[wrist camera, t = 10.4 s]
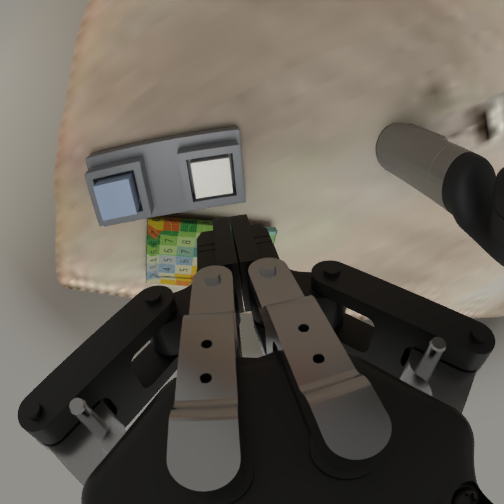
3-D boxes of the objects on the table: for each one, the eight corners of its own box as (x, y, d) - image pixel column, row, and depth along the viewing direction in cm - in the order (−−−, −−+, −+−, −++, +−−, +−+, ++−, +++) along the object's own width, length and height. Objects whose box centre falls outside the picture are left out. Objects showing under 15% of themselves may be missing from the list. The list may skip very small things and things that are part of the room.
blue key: (132, 171, 38) (128, 178, 36) (140, 204, 41) (137, 214, 38) (99, 179, 38) (92, 186, 35) (107, 211, 40) (102, 220, 38)
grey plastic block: (236, 126, 42) (242, 133, 37) (242, 194, 48) (249, 210, 43) (91, 153, 40) (78, 164, 35) (108, 217, 46) (99, 235, 41)
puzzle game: (262, 293, 54) (145, 286, 49) (257, 277, 58) (148, 269, 53) (278, 234, 48) (146, 222, 43) (271, 220, 52) (150, 208, 47)
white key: (226, 152, 41) (229, 157, 38) (230, 185, 44) (233, 193, 41) (190, 157, 40) (190, 163, 38) (195, 190, 43) (196, 198, 41)
